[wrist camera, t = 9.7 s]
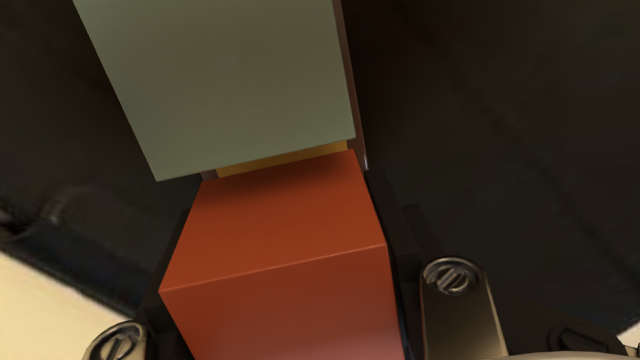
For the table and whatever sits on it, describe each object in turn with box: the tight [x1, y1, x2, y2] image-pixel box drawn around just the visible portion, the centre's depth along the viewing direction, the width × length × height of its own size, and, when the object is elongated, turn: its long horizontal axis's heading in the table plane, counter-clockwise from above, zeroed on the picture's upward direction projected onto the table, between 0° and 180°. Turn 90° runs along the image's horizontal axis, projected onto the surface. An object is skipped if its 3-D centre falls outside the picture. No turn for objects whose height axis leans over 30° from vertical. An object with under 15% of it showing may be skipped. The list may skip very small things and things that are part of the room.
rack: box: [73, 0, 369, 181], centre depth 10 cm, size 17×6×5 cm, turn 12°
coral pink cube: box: [159, 149, 405, 360], centre depth 10 cm, size 4×4×4 cm
